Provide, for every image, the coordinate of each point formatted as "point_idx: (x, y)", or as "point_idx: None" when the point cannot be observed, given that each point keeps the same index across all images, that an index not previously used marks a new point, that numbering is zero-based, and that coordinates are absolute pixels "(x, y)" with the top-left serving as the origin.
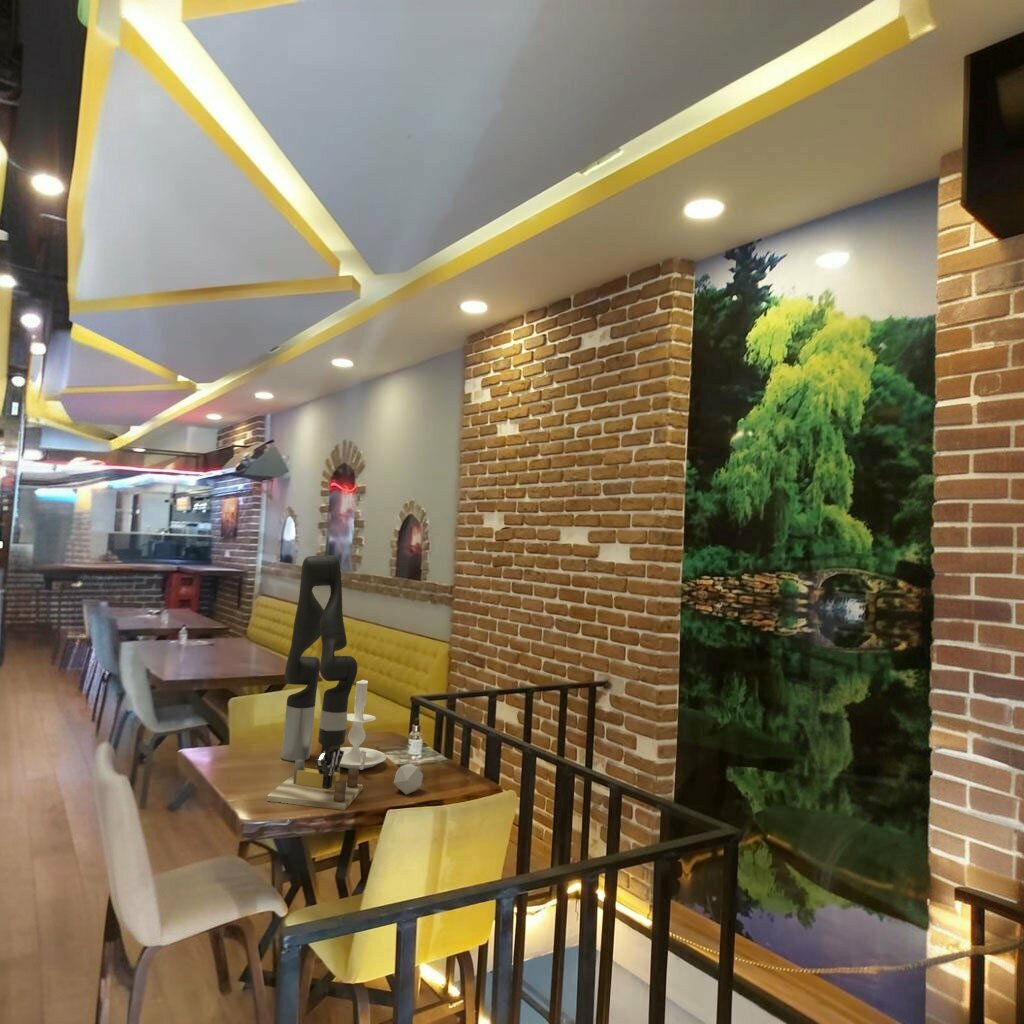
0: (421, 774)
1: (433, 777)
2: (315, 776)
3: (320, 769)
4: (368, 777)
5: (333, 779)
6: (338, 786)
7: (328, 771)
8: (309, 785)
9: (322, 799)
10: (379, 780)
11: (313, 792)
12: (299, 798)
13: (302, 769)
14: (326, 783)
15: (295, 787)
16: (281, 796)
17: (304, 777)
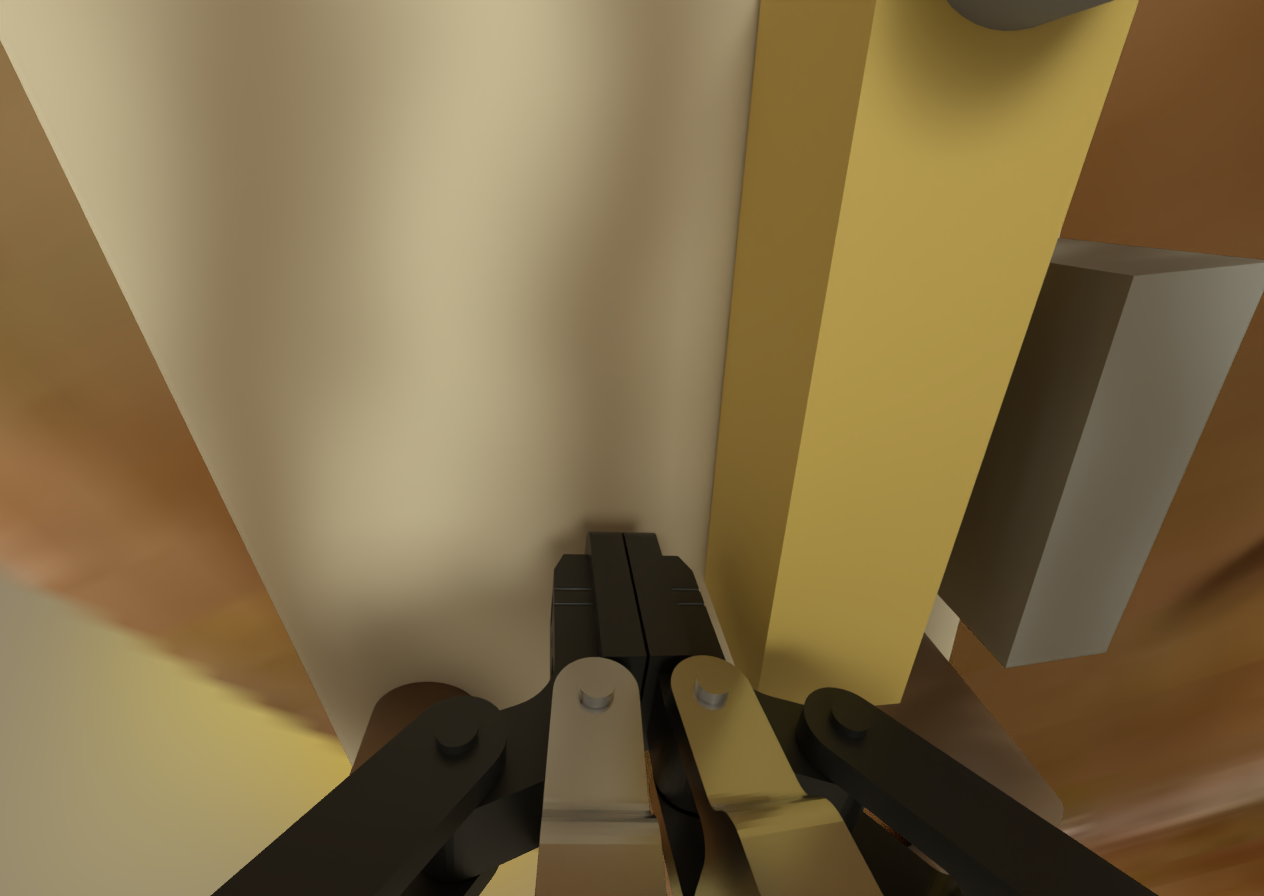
0: None
1: (1210, 854)
2: (778, 394)
3: (363, 842)
4: (1245, 583)
5: (740, 646)
6: None
7: (480, 876)
8: (737, 268)
9: (356, 599)
10: (1160, 669)
11: (525, 419)
12: (192, 361)
13: (969, 17)
14: (550, 638)
15: (615, 65)
16: (38, 31)
17: (791, 160)
